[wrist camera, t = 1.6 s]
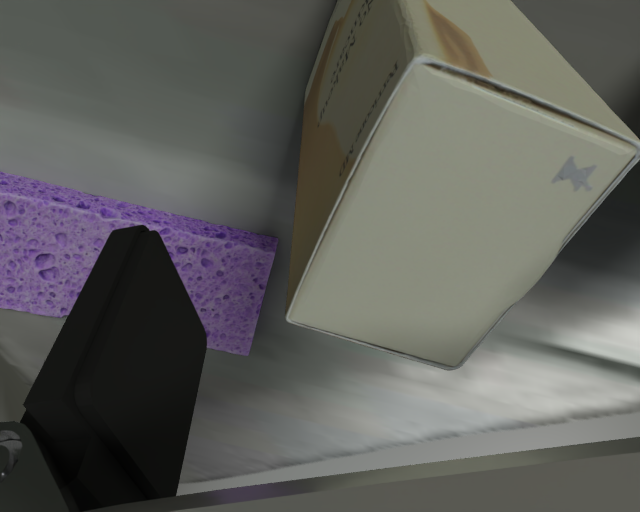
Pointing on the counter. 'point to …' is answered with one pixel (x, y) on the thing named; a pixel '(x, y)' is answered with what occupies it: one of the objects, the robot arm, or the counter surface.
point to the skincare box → (440, 173)
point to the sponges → (90, 237)
